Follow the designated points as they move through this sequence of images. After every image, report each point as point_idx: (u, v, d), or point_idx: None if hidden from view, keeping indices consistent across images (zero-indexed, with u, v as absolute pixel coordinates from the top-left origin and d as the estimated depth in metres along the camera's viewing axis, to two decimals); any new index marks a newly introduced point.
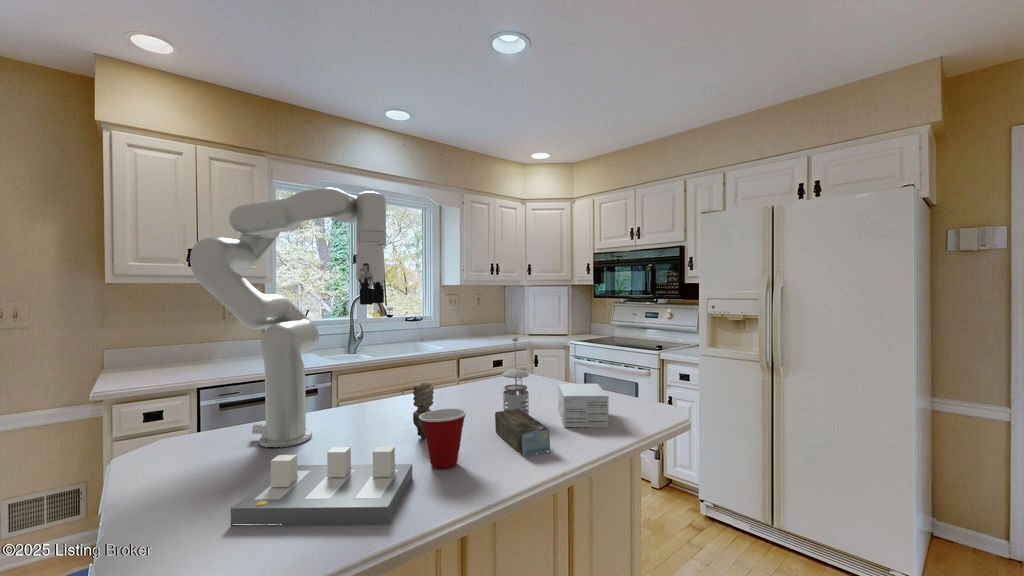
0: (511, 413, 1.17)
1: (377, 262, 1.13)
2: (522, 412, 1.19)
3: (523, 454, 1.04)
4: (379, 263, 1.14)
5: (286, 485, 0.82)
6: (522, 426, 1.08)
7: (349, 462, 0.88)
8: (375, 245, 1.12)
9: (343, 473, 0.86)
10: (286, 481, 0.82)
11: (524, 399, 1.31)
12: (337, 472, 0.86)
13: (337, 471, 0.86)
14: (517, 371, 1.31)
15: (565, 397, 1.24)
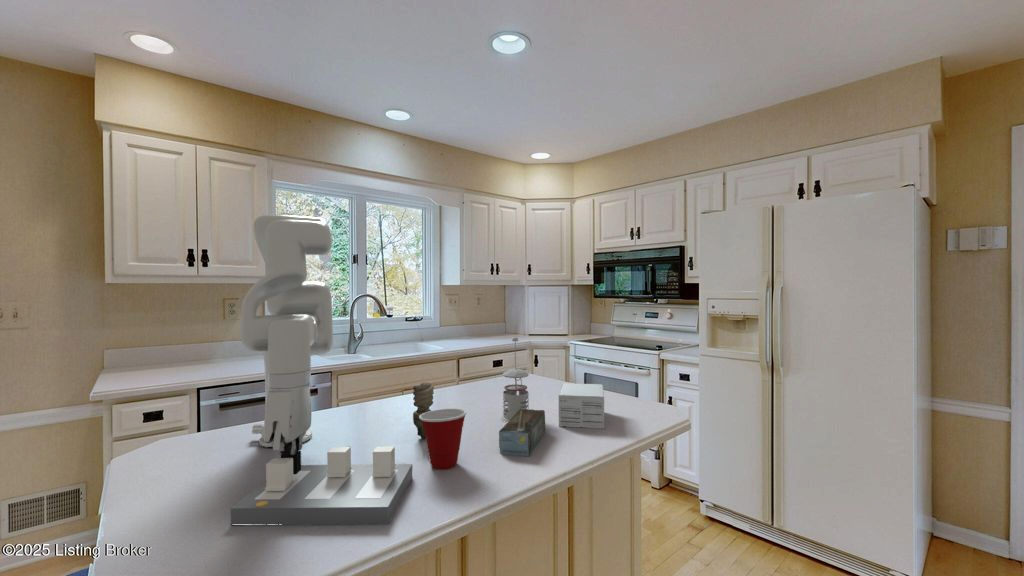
0: (525, 413, 1.18)
1: (294, 415, 0.83)
2: (537, 414, 1.17)
3: (500, 451, 1.05)
4: (299, 414, 0.84)
5: (282, 489, 0.80)
6: (513, 425, 1.09)
7: (349, 462, 0.88)
8: (291, 393, 0.82)
9: (343, 473, 0.86)
10: (282, 485, 0.80)
11: (524, 399, 1.31)
12: (337, 472, 0.86)
13: (337, 471, 0.86)
14: (517, 371, 1.31)
15: (560, 396, 1.25)
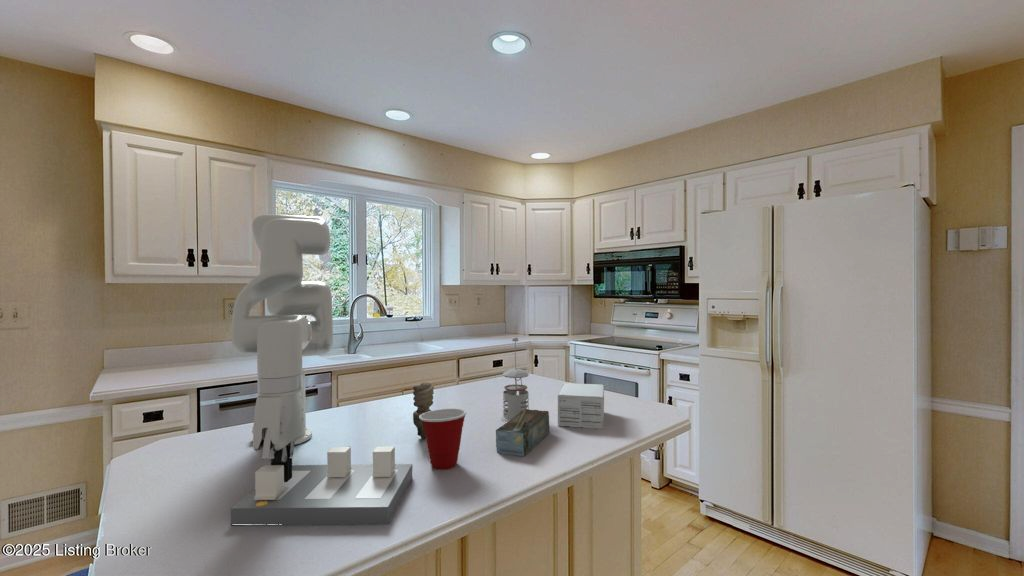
0: (528, 413, 1.18)
1: (285, 421, 0.79)
2: (539, 414, 1.17)
3: (497, 450, 1.06)
4: (289, 420, 0.81)
5: (271, 498, 0.77)
6: (511, 425, 1.10)
7: (349, 462, 0.88)
8: (281, 399, 0.79)
9: (343, 473, 0.86)
10: (272, 493, 0.77)
11: (525, 399, 1.31)
12: (337, 472, 0.86)
13: (337, 471, 0.86)
14: (517, 371, 1.31)
15: (559, 396, 1.25)
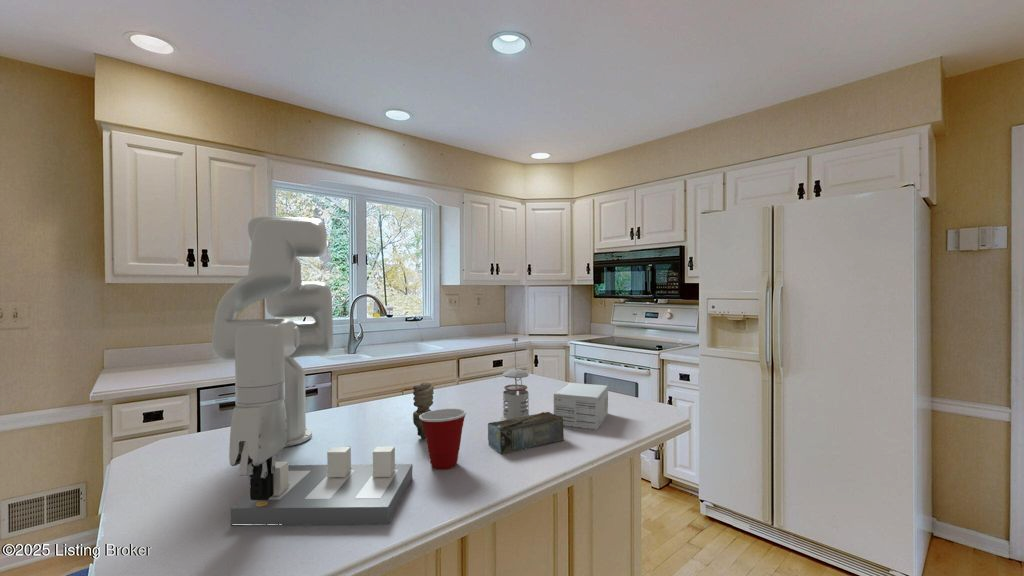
0: (540, 415, 1.16)
1: (265, 434, 0.73)
2: (547, 418, 1.13)
3: (488, 443, 1.11)
4: (270, 432, 0.75)
5: (276, 493, 0.78)
6: (507, 422, 1.12)
7: (349, 462, 0.88)
8: (261, 409, 0.73)
9: (343, 473, 0.86)
10: (276, 489, 0.79)
11: (524, 399, 1.31)
12: (337, 472, 0.86)
13: (337, 471, 0.86)
14: (517, 371, 1.31)
15: (555, 395, 1.27)
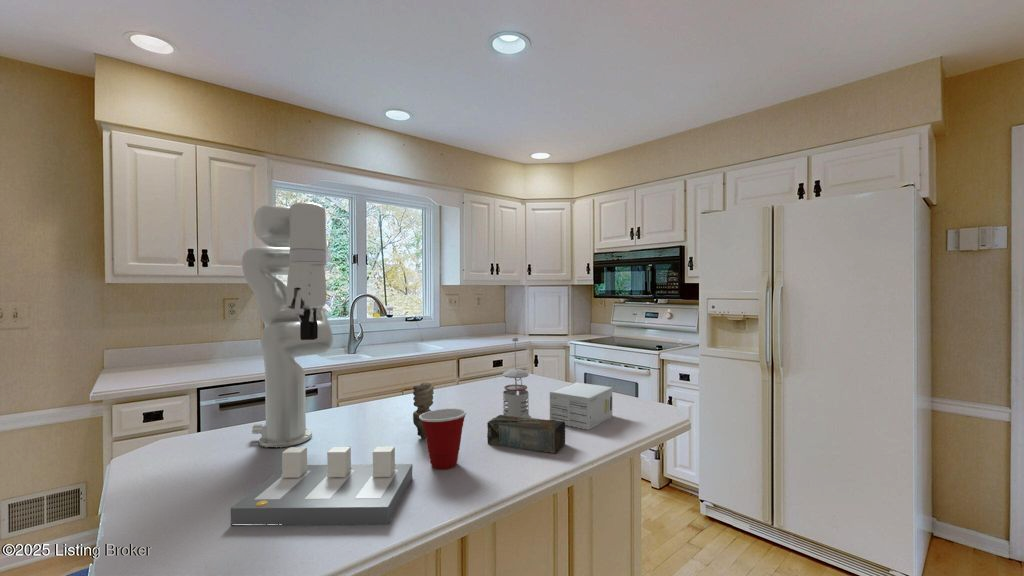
0: (544, 421, 1.10)
1: (312, 286, 0.95)
2: (540, 425, 1.07)
3: None
4: (316, 286, 0.97)
5: (297, 476, 0.86)
6: (511, 418, 1.15)
7: (349, 462, 0.88)
8: (310, 266, 0.95)
9: (343, 473, 0.86)
10: (297, 472, 0.86)
11: (524, 399, 1.31)
12: (337, 472, 0.86)
13: (337, 471, 0.86)
14: (517, 371, 1.31)
15: (551, 393, 1.29)
